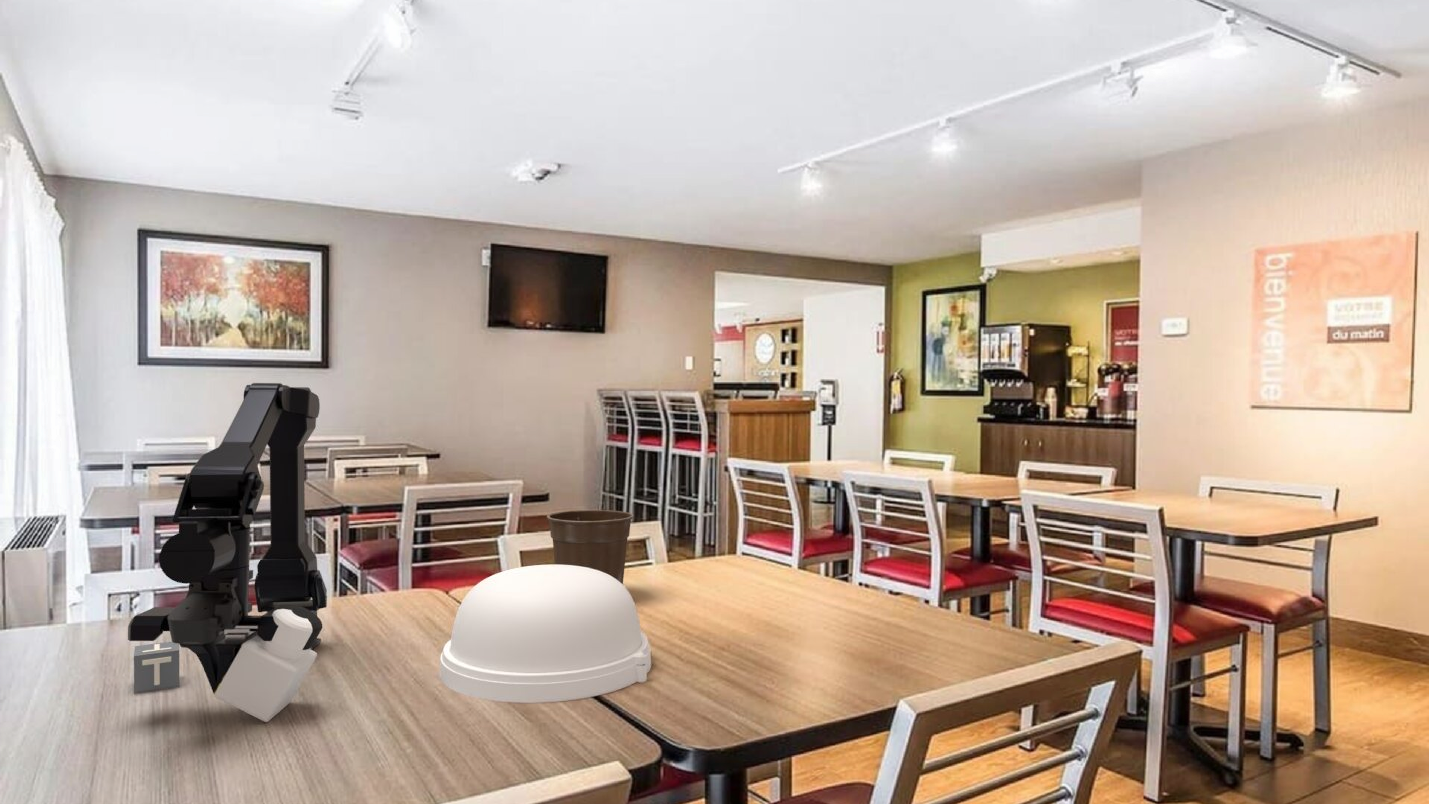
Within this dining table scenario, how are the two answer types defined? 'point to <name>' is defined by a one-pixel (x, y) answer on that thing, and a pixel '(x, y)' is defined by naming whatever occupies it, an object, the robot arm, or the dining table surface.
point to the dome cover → (545, 637)
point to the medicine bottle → (272, 664)
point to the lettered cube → (156, 667)
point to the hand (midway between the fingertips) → (219, 694)
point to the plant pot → (591, 539)
